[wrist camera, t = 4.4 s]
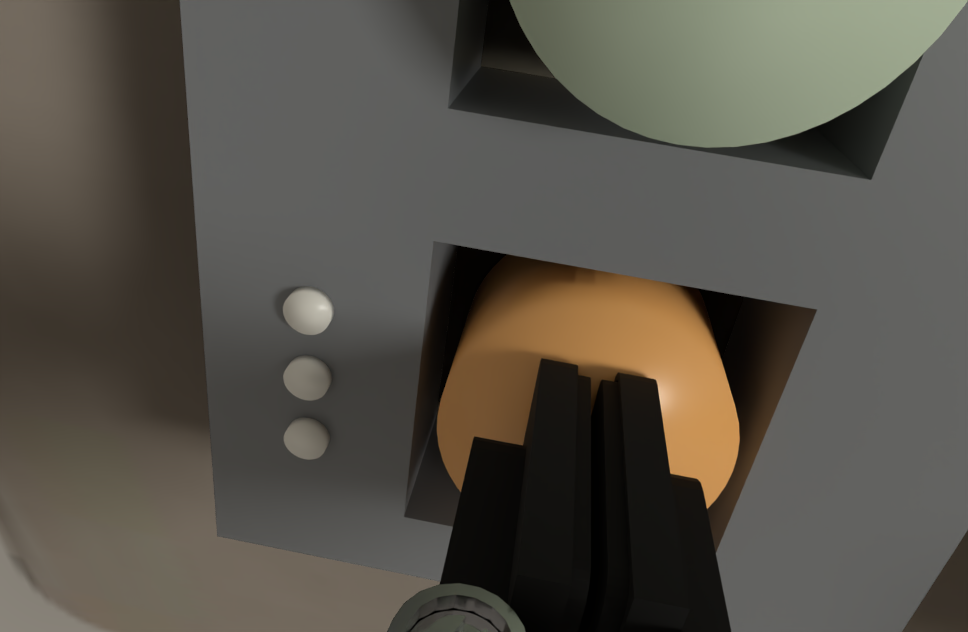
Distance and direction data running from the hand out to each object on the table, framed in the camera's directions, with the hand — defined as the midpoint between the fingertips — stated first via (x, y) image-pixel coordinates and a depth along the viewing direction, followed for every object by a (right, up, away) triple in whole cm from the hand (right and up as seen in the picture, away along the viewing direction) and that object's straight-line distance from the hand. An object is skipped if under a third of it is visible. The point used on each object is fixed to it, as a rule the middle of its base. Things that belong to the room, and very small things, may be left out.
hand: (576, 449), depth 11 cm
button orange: (+1, +2, +3) cm, 3 cm away
